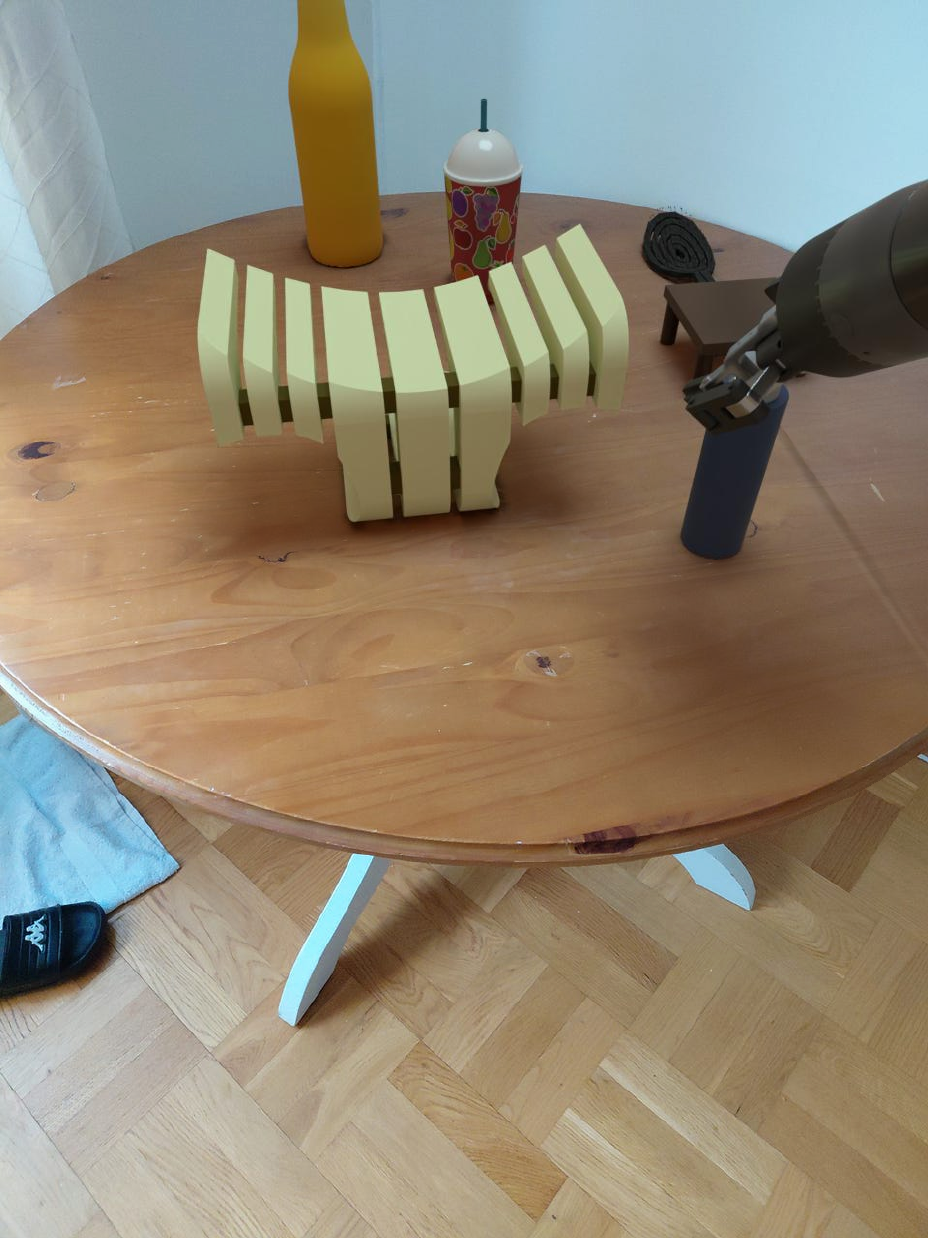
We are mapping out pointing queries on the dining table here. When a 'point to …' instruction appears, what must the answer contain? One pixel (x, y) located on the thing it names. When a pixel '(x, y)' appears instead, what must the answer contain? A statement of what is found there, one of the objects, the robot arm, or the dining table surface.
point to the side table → (715, 315)
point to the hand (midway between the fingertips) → (736, 347)
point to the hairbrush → (678, 248)
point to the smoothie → (482, 202)
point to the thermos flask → (730, 481)
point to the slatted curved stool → (417, 371)
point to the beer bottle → (334, 138)
